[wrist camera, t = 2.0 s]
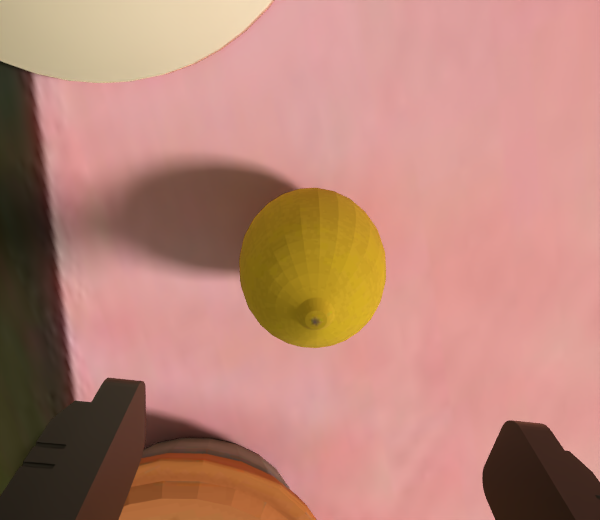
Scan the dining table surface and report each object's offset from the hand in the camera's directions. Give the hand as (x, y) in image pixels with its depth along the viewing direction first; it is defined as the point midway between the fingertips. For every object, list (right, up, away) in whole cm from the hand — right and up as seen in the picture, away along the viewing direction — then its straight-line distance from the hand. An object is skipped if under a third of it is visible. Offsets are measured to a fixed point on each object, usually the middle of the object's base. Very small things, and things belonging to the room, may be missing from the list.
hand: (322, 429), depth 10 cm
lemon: (0, +5, +11) cm, 12 cm away
